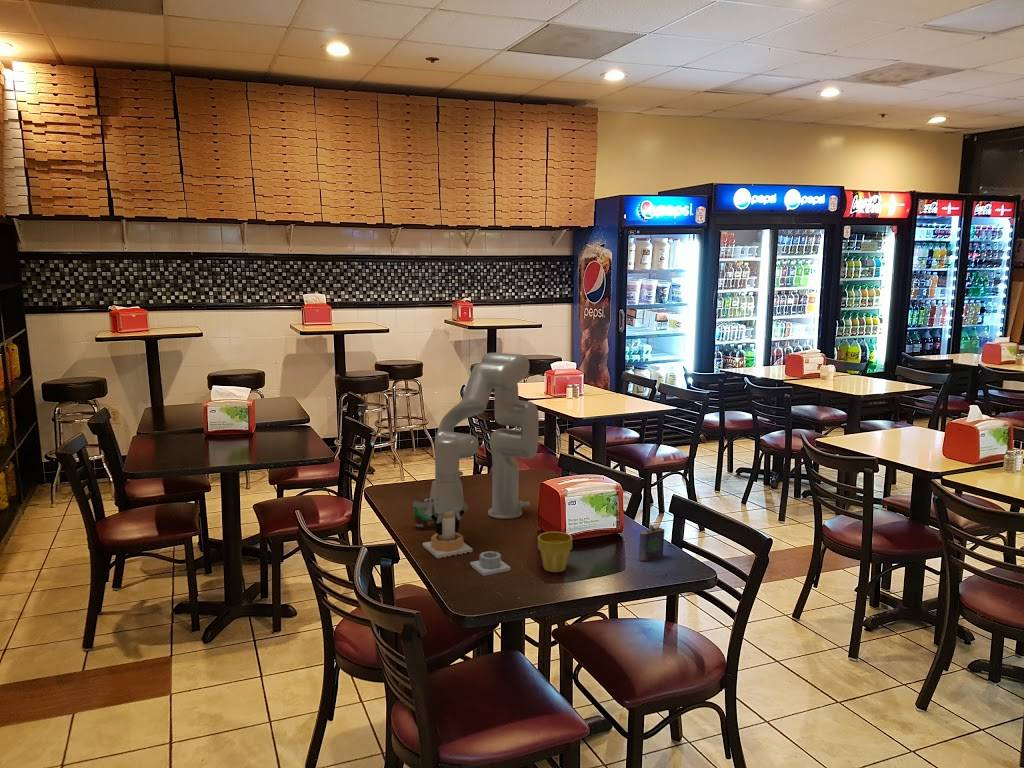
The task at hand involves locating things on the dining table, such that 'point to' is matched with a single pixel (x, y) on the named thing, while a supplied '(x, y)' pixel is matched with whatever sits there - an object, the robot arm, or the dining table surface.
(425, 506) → the food container
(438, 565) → the dining table surface
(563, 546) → the plant pot
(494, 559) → the narrow socket
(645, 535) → the flask
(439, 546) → the wide socket
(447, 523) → the beige peg
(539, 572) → the dining table surface
